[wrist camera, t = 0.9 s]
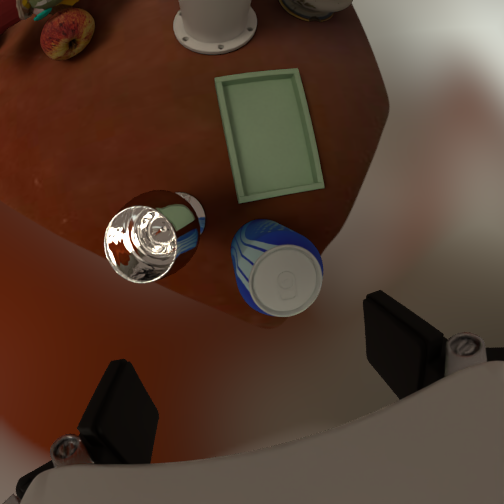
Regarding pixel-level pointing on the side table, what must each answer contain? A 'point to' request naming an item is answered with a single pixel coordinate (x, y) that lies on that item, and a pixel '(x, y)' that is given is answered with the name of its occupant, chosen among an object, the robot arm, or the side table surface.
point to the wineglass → (154, 235)
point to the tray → (268, 134)
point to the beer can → (276, 268)
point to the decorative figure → (25, 10)
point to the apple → (67, 33)
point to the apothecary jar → (314, 8)
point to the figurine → (58, 8)
